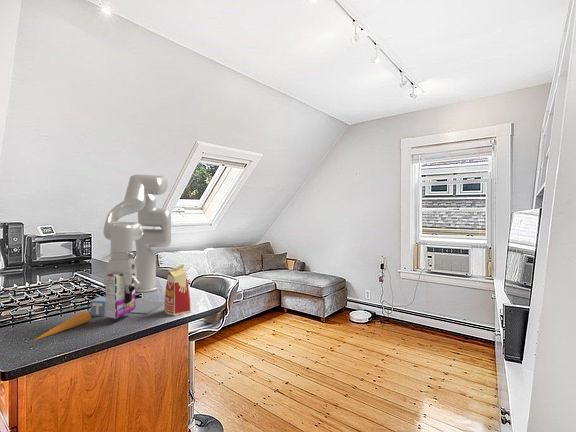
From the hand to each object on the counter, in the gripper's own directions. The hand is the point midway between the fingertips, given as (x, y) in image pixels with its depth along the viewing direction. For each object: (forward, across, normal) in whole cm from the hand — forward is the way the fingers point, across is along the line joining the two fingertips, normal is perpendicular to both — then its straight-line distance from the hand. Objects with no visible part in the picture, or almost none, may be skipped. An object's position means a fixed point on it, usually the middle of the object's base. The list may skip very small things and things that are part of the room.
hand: (120, 301), depth 125 cm
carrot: (+7, +13, +14) cm, 20 cm away
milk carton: (+7, -17, -12) cm, 22 cm away
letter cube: (+7, +11, -4) cm, 14 cm away
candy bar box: (+5, 0, 0) cm, 5 cm away
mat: (+7, -2, -14) cm, 16 cm away
